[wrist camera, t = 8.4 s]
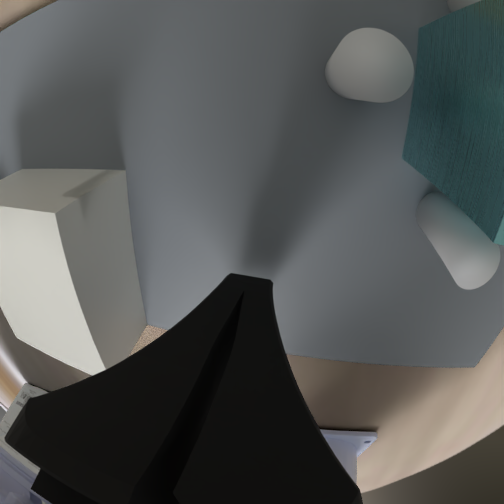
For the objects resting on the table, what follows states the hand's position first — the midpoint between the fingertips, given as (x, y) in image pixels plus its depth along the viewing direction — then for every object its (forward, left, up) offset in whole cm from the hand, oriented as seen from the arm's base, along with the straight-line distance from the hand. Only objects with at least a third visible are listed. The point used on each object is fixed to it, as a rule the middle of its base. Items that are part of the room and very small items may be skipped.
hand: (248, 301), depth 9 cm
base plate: (+3, +3, -2) cm, 5 cm away
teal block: (+7, -6, -1) cm, 9 cm away
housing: (0, +8, -1) cm, 8 cm away
